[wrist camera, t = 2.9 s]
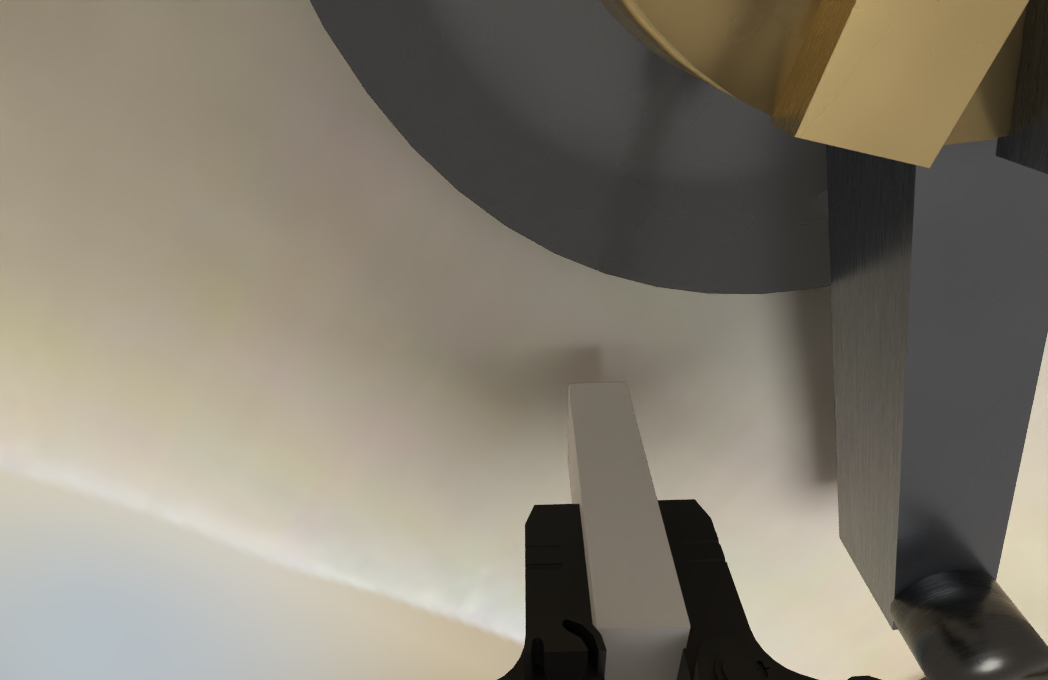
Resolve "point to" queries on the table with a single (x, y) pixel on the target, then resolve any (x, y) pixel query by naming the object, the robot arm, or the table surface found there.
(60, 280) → the table surface
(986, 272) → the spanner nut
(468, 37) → the base
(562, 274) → the table surface
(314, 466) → the table surface
